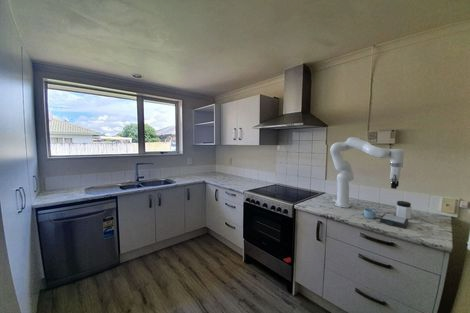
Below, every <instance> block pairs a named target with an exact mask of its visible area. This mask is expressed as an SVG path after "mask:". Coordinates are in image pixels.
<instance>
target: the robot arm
mask: <svg viewBox="0 0 470 313" xmlns="http://www.w3.org/2000/svg"><path fill="white" fill-rule="evenodd" d="M351 149H356V150H358V151H361V152H363V153H366V154H368V155H369V156H370V155H371V156H372V157H375V158H378V159H389V167H390V175H389V180H390V181H391V183H390V189H395V190H397V187H399V185H400V184H399V183H400V182H399V180H400V179H401V169H402V168H404V155H405V154H404V153H405V150H404V149H402V148H388V147H387V148H386V147H385V148H382V147H378V146H376V145H372V144H371V143H370V142H369V141H366V140H364V139H361V138H359V137H357V136H351V137H348V138H347V139H346V141H338V142H337V141H336V142H334V143H333V144H332V145H331V146H330V149H329V153H330V156H331V159H332V162H333V166H334V169H335V170H336V171H337V172H339V173H338V174H337V175H336V185H337V187H336V188H337V189H336V190H337V191H336V199H334V198H332V202H333V203H334V206H336V207H339V208H345V209H347V208H351V204H349V202H350V201H349V200H350V184H349V182H352V181H353V180H354V178H355V175H354V172H353V168H352V166H351V163H350V162H349V161H347V160H345V159H344V157H343V155H342V154H341V152H346V151H349V150H351Z"/></svg>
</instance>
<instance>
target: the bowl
mask: <svg viewBox="0 0 470 313" xmlns="http://www.w3.org/2000/svg"><path fill="white" fill-rule="evenodd" d="M376 214H377V212H376V210H375V209H372V208H364V209H363V217H365V218H367V219H370V220H371V219H372V220H373V219H376Z"/></svg>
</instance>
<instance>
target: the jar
mask: <svg viewBox="0 0 470 313" xmlns="http://www.w3.org/2000/svg"><path fill="white" fill-rule="evenodd" d="M395 216H399V217H404V218H406V219H408V220H411V216H412V204H411V202H410V201H409V202H408V201H406V200H396V205H395Z"/></svg>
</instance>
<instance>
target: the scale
mask: <svg viewBox="0 0 470 313" xmlns="http://www.w3.org/2000/svg"><path fill="white" fill-rule="evenodd" d="M379 222H380V223H382V224H385V225H389V226H393V227H398V228H402V229H406V228H407V226H408V224H409V219H406V218H404V217H399V216H396V214H390V213H383V214H382V216H381V217H380V220H379Z"/></svg>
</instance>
